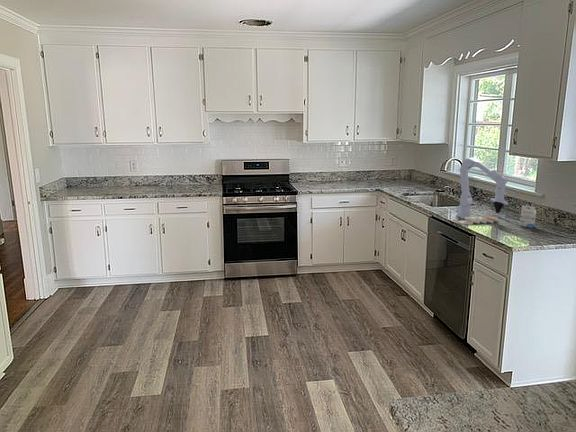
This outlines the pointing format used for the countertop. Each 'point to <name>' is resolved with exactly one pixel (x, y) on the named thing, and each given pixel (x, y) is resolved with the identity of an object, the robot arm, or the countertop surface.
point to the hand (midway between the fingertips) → (497, 212)
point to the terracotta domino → (491, 218)
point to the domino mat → (492, 223)
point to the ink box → (527, 216)
